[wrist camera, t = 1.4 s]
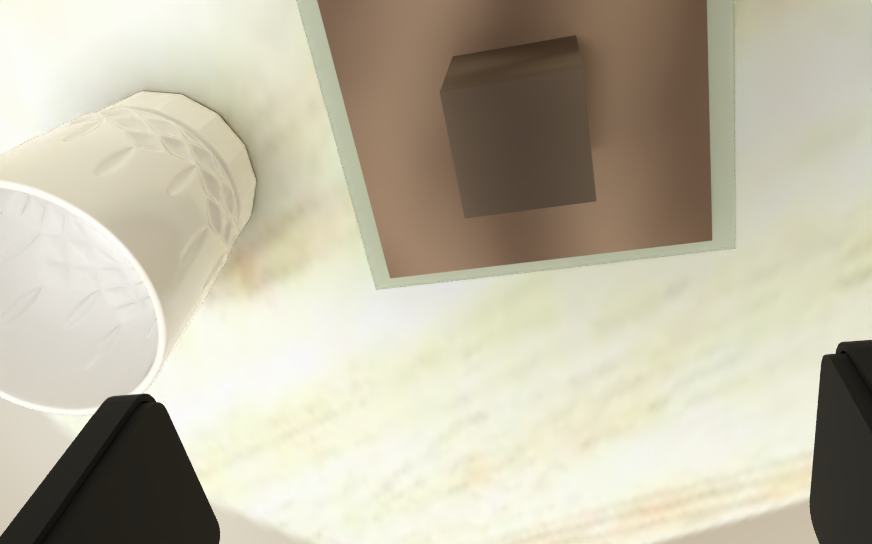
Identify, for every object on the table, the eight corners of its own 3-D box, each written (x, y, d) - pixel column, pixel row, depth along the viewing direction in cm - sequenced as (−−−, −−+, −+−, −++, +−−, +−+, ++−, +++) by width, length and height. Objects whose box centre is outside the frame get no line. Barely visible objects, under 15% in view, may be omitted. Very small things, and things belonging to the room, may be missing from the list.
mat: (727, -181, 22) (732, -181, 21) (731, 240, 28) (735, 248, 28) (279, -82, 25) (274, -80, 24) (378, 282, 31) (375, 289, 31)
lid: (696, -134, 22) (736, -127, 18) (706, 228, 28) (738, 299, 23) (312, -53, 24) (264, -29, 20) (394, 265, 30) (371, 337, 26)
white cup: (205, 292, 33) (88, 456, 24) (45, 175, 30) (-146, 308, 22) (310, 169, 29) (217, 309, 20) (137, 28, 27) (-48, 118, 18)
